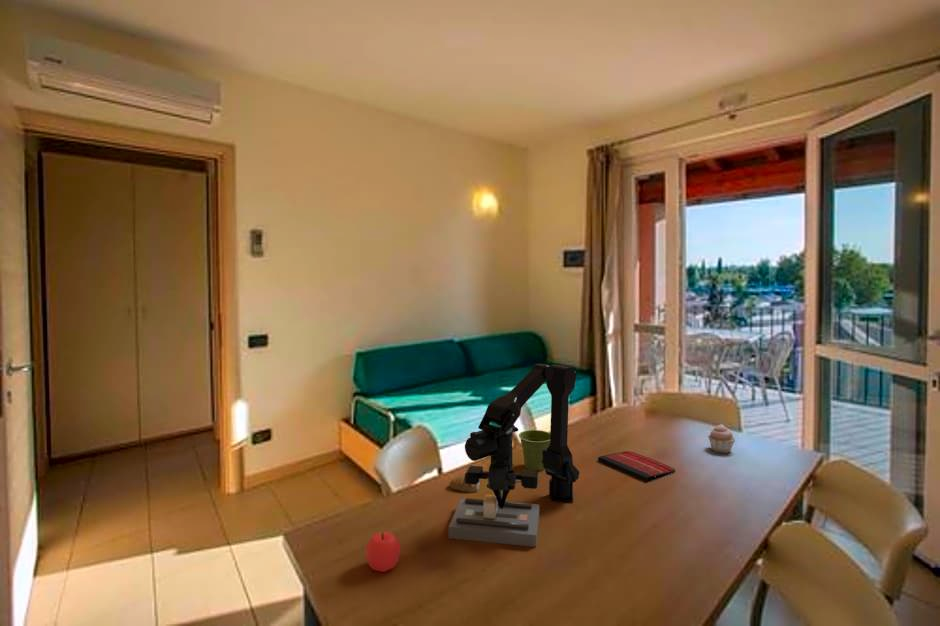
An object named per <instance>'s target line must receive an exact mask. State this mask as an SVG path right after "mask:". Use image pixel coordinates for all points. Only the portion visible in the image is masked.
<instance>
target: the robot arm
mask: <svg viewBox="0 0 940 626" xmlns="http://www.w3.org/2000/svg"><path fill="white" fill-rule="evenodd" d="M576 379H577V373H576V371H575V370H574V368H573V367H569V366H564V365H558V364H551V365H548V364H542V363H536V364H534V365H533V366H532V369H531V370H530V371H529V372H528V373H527V374H525V376H524V377H523V378H522V379H521V380H520V381H519V382H518V383H517V384H516V385H515V386H514V387H513V388H512V389H511V390H510V391H509V392H508V393H506V394H504V395H502V396H499V397H496V398H495V399H494V400H493V401H491V402H490V403H489V404H488V405H487V407H486V411H485V413H484V415H483V417H482V419H481V421H480V422H479V425H478V429H479V430H478V431H472V432H470V433H469V434H470V435H469V438H467V439H466V441H465V444H464V452H465V454H466V456H467V457H468V459H469V460H470V461H473V462H476V461H479V460H482V459H485V458H488V457H490V464H489V467H488V471H486V470H485V471H484V468H483V466H480V465H479V466H478V465H469V467H467V470H466V472H465V474H464V477H465V483H466V484H477V483H478V482H479V481H480V480H486V482H487V483H486V488H488V489H489V490H491V491H493V495H495V496H496V499H497V502H498V504H499V507H500V509H503V507H504V504H505V501H506V502H507V499H508V498H507V497H508V495H509V494H510V491H511V490H512V491H513V490H515V488H516V484H517V482H521V484H520V485H521V486H522V487H523V488H524V489H530V490H531V489H532V490H535V489H537V488H538V481H539V473H538V472H539V471H538V470H529V469H527V468H526V469H525V468H522V472H521V473H517V471H516V469H513V433H516V432H519V428H518V427H516V426H515V423H516V422H517V420H518V419H519V418H520V417H521V412H522V408H523V406H524V405H525V404H526V403H527V402H528V401H529V400H530V399H531V398H532V396H533V395H535V393H536V392H537V391H538V390H539V389H540V388H541V387H542V386H543V385H544V384H546V388H547V389H548V391H549V393H550V396H551V397H550V399H551V402H550V404H551V405H550V431H549V433H550V445H549V446H548V447H547V449H546V450H543V452H542V454H543V459H542V463H543V467H544V468H545V469H544V471H545V474H546V475H547V476H550V477H551V478H550V479H549V482H548V486H549V487H548V489H549V490H548V496H550V501H552V502H553V501H554V502H566V503H573V502H574V483H577V480H578V479H579V478H580V471H579V470H578V469H577V467H576V466H575V464H574V461H573V454H572V452H571V450H570V447H569V446H568V431H569V430H568V429H569V428H568V427H569V402H570V401H569V398H570V395H571V394H572V392H573V391H574V389H575V388H576V387H575V386H576ZM490 423H491V424H490Z"/></svg>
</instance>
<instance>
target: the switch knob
mask: <svg viewBox="0 0 940 626" xmlns="http://www.w3.org/2000/svg"><path fill="white" fill-rule="evenodd" d="M483 500H484V503H483V512H484V518H492V519H495V517H496V513H497V510H498V502H497V499H496V496H495V494H491V493H490V494H489V493H487V494H486V495H485V497H484V499H483Z"/></svg>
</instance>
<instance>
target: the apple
mask: <svg viewBox="0 0 940 626" xmlns="http://www.w3.org/2000/svg"><path fill="white" fill-rule="evenodd" d="M365 547H366V548H365V556H366V560H367V564H368V566H369V567H370V568H371V569H372V570H373V571H377V572H382V573H384V572H388V571H390V570H392V569H393V568H395V567H396V565H397V563H398V561H399V559H400V558H399V557H400V553H401V543H400V540H399V539H398V538H397V537H396V536H395V535H394V534H393V533H392V532H387V531H381V532H378V533H375V534H373V535H372V537H371V538H370V539H369V541H368V543H367V545H366V546H365Z"/></svg>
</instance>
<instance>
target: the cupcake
mask: <svg viewBox="0 0 940 626" xmlns="http://www.w3.org/2000/svg"><path fill="white" fill-rule="evenodd" d="M707 438H708V440H709V444H710V448H711V450H712V451H714V452H716V453H721V454H729V453H730V452H731V451H732V447H733V445H734V444H735V442H736V439H735V437H734V435H733V433H732V431H731V430H730V429H729V428H728V427H726V426H725V425H724V424H722V423H720V424H719V425H716V426H714V428H713V429H712V430H711V431H710V434H709V435H707Z"/></svg>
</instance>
